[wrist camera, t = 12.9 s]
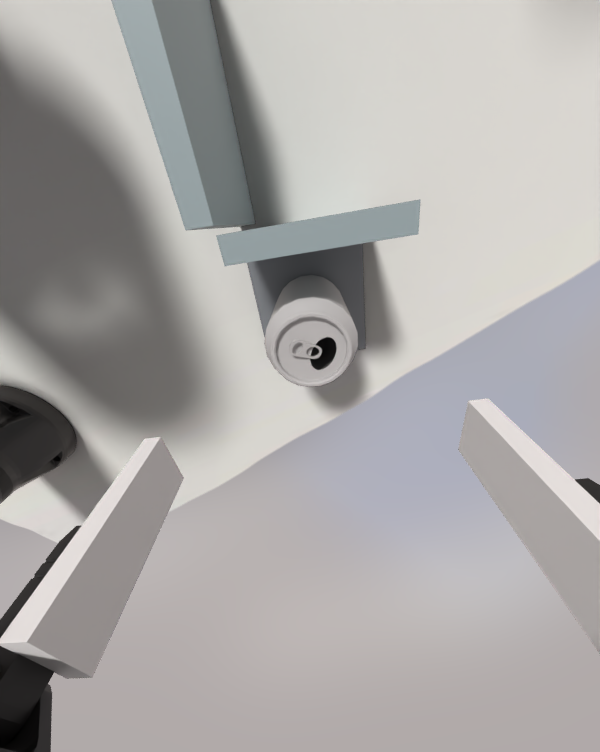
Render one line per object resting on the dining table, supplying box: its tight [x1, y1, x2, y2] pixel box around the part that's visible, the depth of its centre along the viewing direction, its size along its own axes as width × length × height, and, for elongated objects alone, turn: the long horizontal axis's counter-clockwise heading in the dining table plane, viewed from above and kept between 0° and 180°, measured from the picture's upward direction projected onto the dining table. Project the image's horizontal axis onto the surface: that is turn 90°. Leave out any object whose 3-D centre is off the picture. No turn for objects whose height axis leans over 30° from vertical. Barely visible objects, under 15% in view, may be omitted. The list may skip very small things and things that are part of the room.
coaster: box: [247, 244, 366, 349], centre depth 30 cm, size 12×12×1 cm
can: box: [264, 275, 358, 387], centre depth 25 cm, size 8×8×12 cm
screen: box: [111, 0, 420, 266], centre depth 16 cm, size 13×20×14 cm, turn 9°
